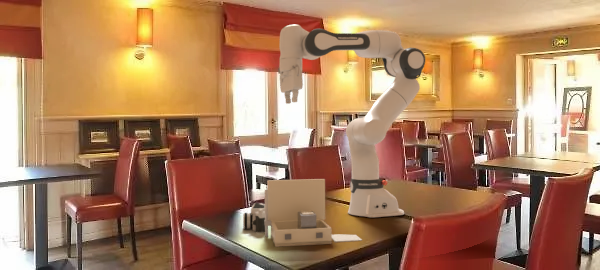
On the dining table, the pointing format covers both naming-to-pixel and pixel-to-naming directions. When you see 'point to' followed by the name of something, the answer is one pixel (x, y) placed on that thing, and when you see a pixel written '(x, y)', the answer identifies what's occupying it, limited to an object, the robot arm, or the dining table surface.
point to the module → (306, 219)
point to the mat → (345, 238)
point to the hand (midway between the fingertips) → (291, 102)
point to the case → (295, 212)
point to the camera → (255, 218)
